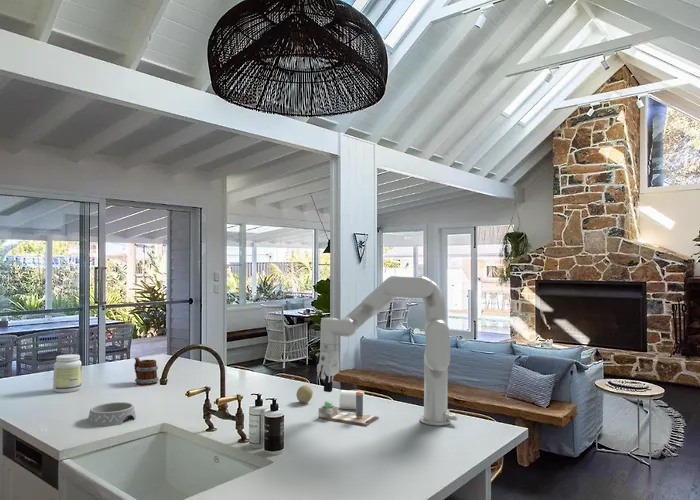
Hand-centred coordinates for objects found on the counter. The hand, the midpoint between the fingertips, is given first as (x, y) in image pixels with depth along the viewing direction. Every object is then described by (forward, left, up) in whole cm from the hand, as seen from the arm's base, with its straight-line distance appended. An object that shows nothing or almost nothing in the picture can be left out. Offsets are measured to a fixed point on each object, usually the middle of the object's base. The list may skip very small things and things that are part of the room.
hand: (327, 391), depth 220 cm
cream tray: (-8, -3, -11) cm, 14 cm away
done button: (0, 0, -8) cm, 8 cm away
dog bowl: (+75, +45, -11) cm, 88 cm away
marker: (-13, -3, -10) cm, 17 cm away
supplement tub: (+135, +23, -11) cm, 137 cm away
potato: (+21, -15, -11) cm, 28 cm away
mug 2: (-2, -19, -11) cm, 22 cm away
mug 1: (+115, -7, -11) cm, 115 cm away
